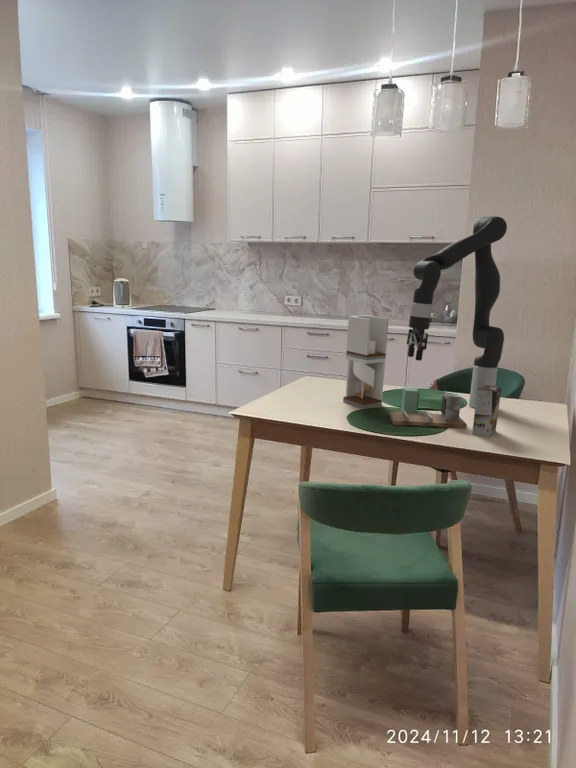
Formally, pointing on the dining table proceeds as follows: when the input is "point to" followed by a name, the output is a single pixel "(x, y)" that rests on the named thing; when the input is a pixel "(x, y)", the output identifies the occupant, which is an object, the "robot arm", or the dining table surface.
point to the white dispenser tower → (366, 360)
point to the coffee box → (486, 410)
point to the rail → (433, 415)
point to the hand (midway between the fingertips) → (414, 358)
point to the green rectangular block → (410, 400)
